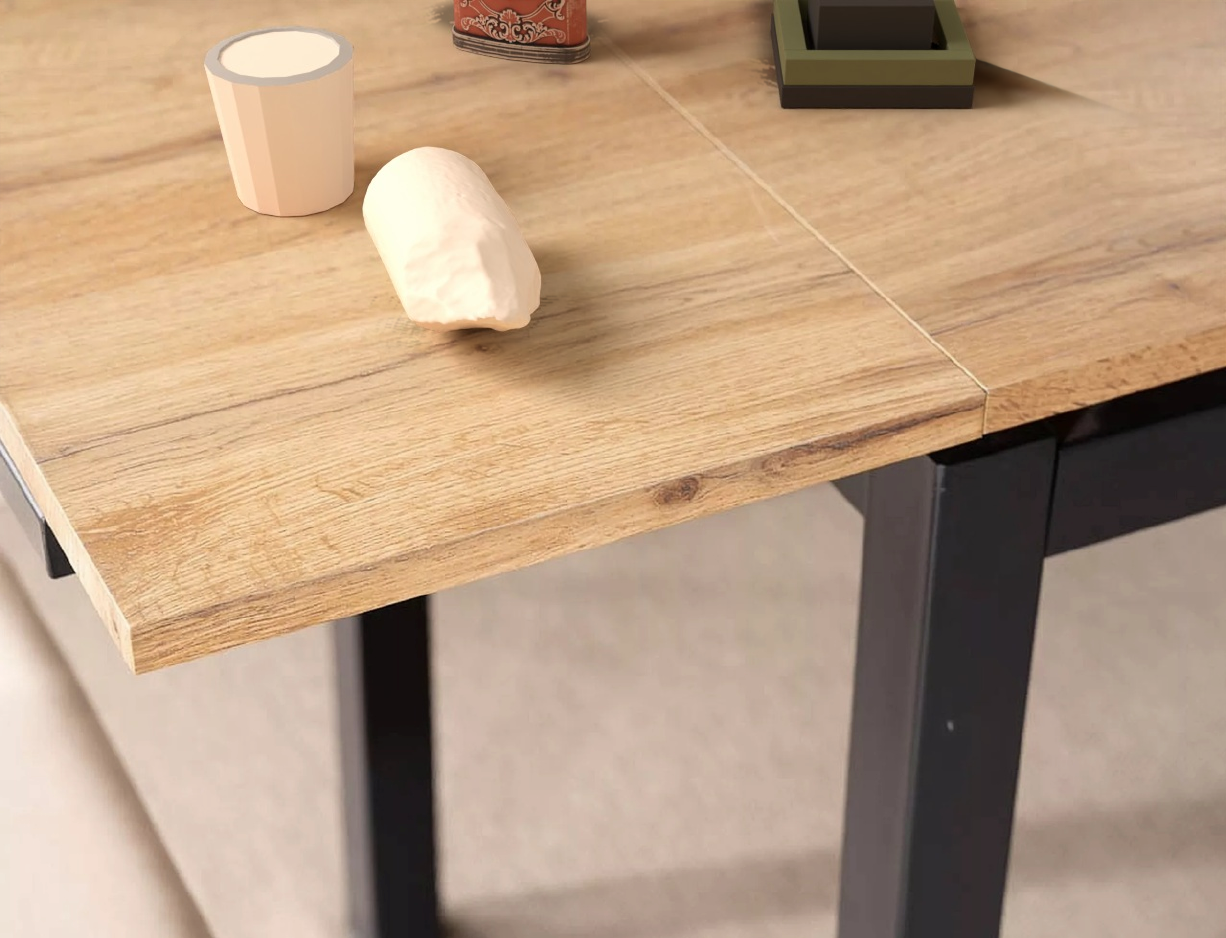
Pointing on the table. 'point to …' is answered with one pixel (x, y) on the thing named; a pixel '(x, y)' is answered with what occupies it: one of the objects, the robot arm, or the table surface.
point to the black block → (870, 24)
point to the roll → (450, 243)
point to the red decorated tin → (523, 29)
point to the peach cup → (286, 117)
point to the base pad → (872, 67)
